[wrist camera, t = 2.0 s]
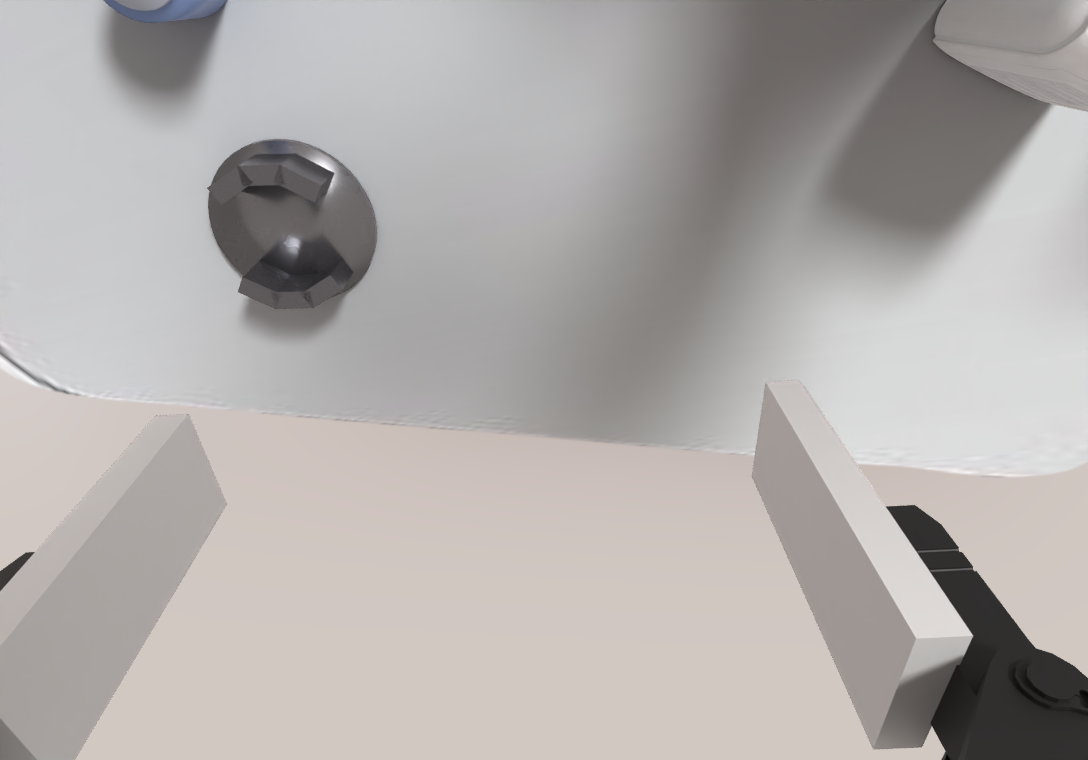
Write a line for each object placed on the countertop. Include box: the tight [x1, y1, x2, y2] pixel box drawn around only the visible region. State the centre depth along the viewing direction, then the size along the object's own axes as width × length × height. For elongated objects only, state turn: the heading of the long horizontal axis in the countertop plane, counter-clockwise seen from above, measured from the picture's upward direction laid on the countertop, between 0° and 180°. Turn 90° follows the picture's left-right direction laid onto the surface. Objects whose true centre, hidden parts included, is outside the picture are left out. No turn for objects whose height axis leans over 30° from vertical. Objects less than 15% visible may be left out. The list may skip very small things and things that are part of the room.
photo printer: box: [933, 0, 1088, 112], centre depth 33 cm, size 10×4×12 cm, turn 69°
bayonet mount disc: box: [207, 139, 377, 309], centre depth 42 cm, size 11×11×4 cm
